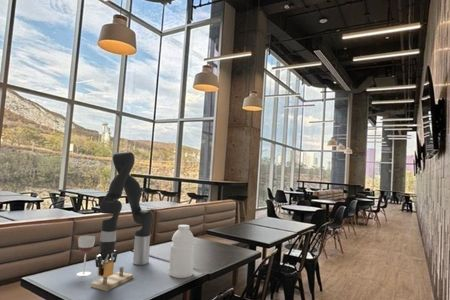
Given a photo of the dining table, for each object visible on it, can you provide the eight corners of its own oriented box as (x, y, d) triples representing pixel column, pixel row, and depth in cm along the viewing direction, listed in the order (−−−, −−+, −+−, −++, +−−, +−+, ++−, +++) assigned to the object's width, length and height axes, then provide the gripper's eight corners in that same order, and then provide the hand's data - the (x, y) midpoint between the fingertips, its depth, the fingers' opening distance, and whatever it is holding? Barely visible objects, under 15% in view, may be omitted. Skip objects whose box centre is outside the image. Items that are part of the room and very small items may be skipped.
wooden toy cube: (104, 272, 158) (106, 260, 159) (113, 274, 156) (114, 262, 157) (97, 275, 154) (98, 263, 154) (105, 277, 152) (106, 265, 152)
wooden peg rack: (118, 274, 171) (119, 263, 172) (133, 278, 168) (133, 267, 168) (90, 286, 153) (91, 274, 153) (106, 290, 149) (107, 278, 150)
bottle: (176, 280, 169) (179, 228, 171) (164, 272, 179) (167, 224, 181) (197, 275, 178) (200, 226, 179) (184, 268, 188) (187, 222, 190)
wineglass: (75, 271, 172) (79, 235, 174) (92, 270, 175) (95, 235, 177) (74, 276, 165) (77, 239, 166) (92, 275, 168) (95, 238, 169)
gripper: (112, 236, 164) (109, 268, 163) (91, 241, 151) (88, 276, 150) (123, 238, 162) (120, 271, 160) (103, 243, 148) (100, 279, 147)
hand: (105, 273), depth 155 cm, fingers closed on wooden toy cube, 5 cm apart
